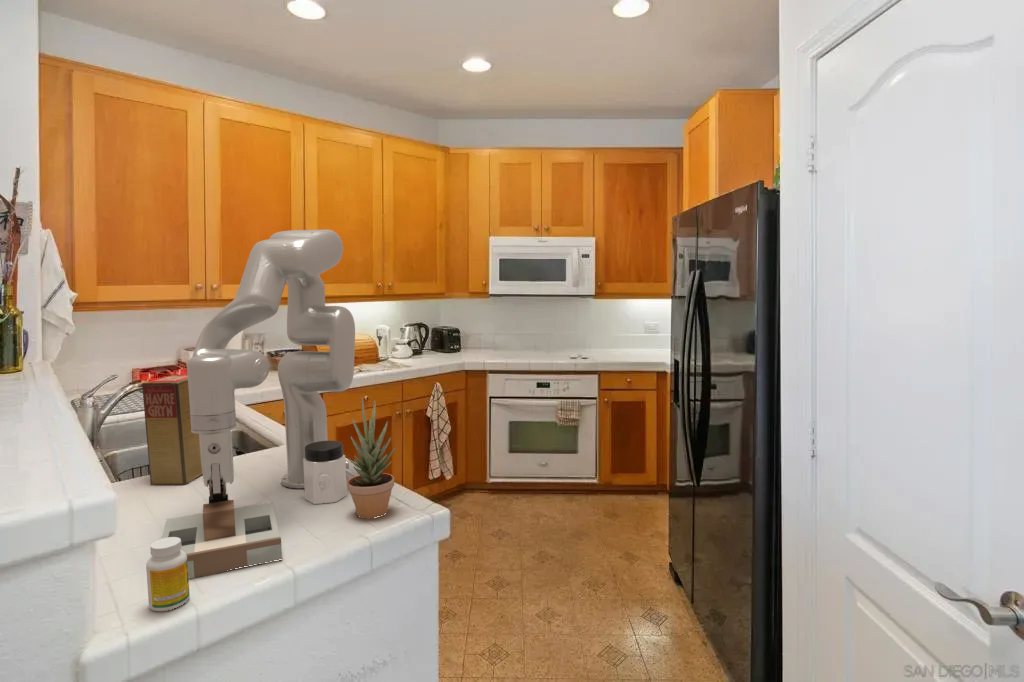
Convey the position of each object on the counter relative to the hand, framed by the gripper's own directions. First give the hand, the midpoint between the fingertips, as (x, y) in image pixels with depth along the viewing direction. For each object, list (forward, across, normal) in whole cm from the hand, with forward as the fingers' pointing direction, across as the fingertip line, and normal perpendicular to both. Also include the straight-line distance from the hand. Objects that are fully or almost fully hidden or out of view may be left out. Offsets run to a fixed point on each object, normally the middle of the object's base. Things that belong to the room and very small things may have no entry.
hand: (219, 516), depth 113 cm
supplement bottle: (+5, -22, +7) cm, 23 cm away
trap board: (+4, -4, 0) cm, 6 cm away
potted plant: (+4, 0, -28) cm, 29 cm away
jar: (+4, +14, -21) cm, 25 cm away
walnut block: (+1, -5, 0) cm, 5 cm away
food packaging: (+4, +45, +9) cm, 46 cm away
